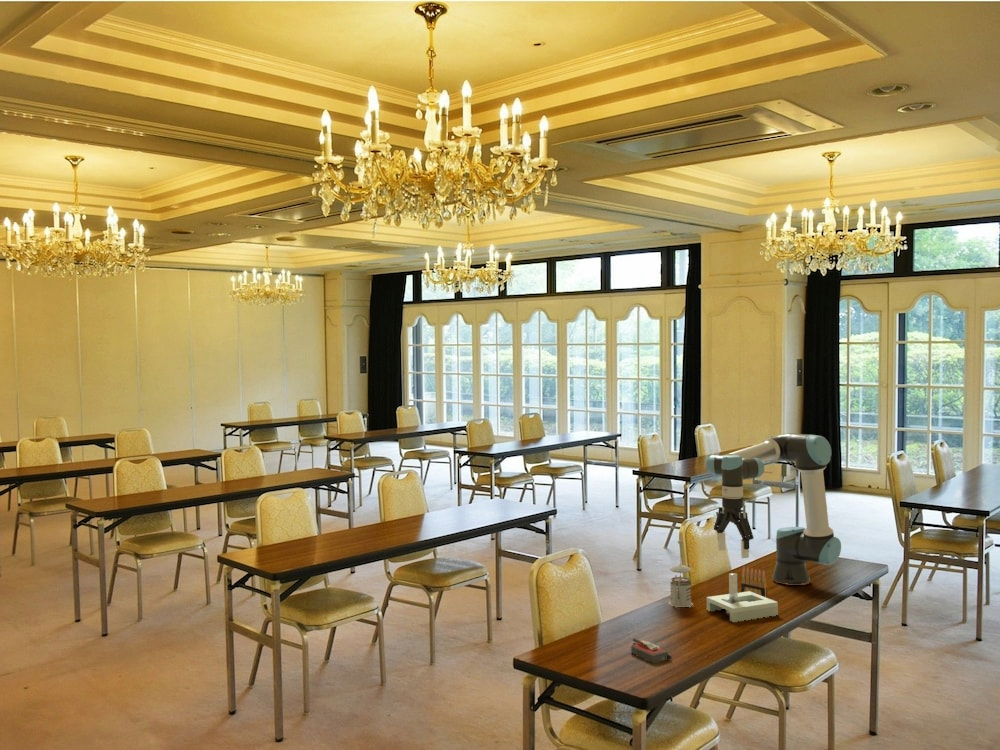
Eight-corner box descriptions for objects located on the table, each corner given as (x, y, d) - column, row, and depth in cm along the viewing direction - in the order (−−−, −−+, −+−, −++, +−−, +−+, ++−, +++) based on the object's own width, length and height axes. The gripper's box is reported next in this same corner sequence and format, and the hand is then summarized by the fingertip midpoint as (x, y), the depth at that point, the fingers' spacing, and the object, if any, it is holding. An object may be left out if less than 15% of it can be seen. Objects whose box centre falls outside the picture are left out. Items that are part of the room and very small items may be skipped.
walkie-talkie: (677, 660, 259) (635, 642, 276) (676, 646, 259) (635, 629, 276) (656, 666, 254) (615, 647, 271) (655, 652, 254) (615, 634, 271)
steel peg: (734, 611, 308) (734, 571, 308) (744, 615, 303) (743, 575, 303) (722, 613, 306) (722, 573, 306) (732, 617, 301) (731, 576, 301)
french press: (696, 602, 320) (695, 538, 320) (689, 610, 310) (689, 544, 309) (671, 599, 324) (670, 536, 324) (664, 607, 314) (663, 542, 313)
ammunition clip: (767, 600, 322) (767, 569, 322) (764, 601, 320) (764, 570, 320) (743, 594, 330) (743, 565, 330) (740, 595, 328) (740, 566, 328)
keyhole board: (749, 603, 317) (749, 590, 317) (777, 615, 302) (777, 601, 302) (706, 610, 310) (706, 596, 309) (733, 622, 295) (733, 608, 295)
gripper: (703, 493, 314) (704, 547, 314) (746, 503, 291) (746, 562, 291) (720, 491, 317) (720, 546, 317) (763, 501, 294) (763, 560, 294)
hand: (733, 553), depth 304 cm, fingers open, 13 cm apart
